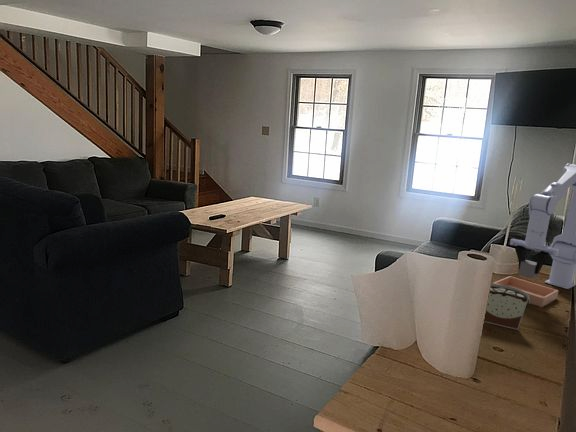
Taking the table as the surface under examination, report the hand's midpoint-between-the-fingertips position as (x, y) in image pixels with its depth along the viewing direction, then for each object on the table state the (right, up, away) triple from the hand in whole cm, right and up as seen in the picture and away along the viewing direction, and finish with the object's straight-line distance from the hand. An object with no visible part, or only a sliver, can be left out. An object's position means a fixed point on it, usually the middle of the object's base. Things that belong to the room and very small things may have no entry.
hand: (528, 271), depth 156 cm
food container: (-20, -12, -23) cm, 33 cm away
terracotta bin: (-1, -8, +2) cm, 8 cm away
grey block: (0, -2, 0) cm, 2 cm away
